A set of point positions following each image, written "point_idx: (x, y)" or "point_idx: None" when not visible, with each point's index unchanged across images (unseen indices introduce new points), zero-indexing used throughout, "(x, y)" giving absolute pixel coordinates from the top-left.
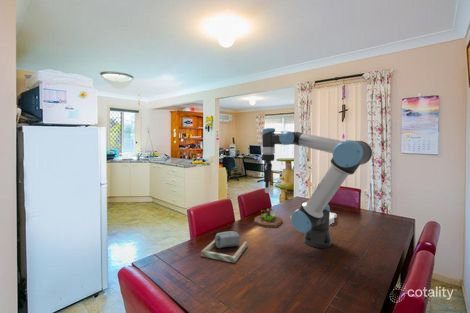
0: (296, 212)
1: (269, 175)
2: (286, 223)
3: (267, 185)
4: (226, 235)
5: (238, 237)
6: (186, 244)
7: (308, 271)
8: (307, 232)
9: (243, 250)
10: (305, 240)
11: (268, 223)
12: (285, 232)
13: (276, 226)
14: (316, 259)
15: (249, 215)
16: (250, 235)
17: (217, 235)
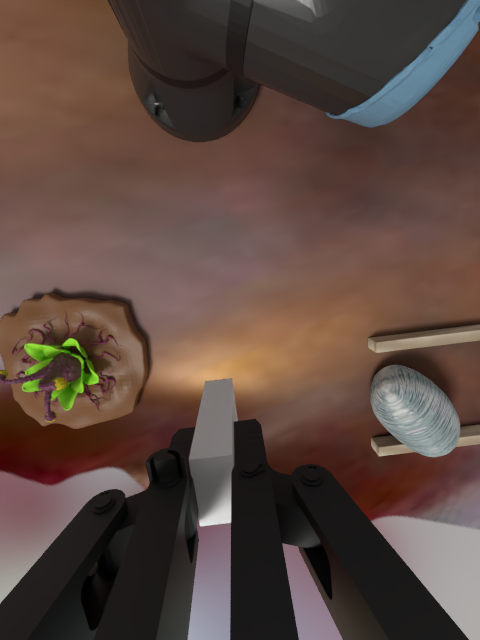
0: (475, 25)
1: (167, 601)
2: (37, 275)
3: (263, 442)
4: (451, 415)
5: (407, 376)
6: (434, 511)
7: (473, 66)
8: (226, 95)
9: (413, 333)
10: (235, 122)
11: (123, 343)
12: (158, 246)
13: (120, 303)
14: None
15: (40, 467)
16: (267, 367)
17: (454, 446)
